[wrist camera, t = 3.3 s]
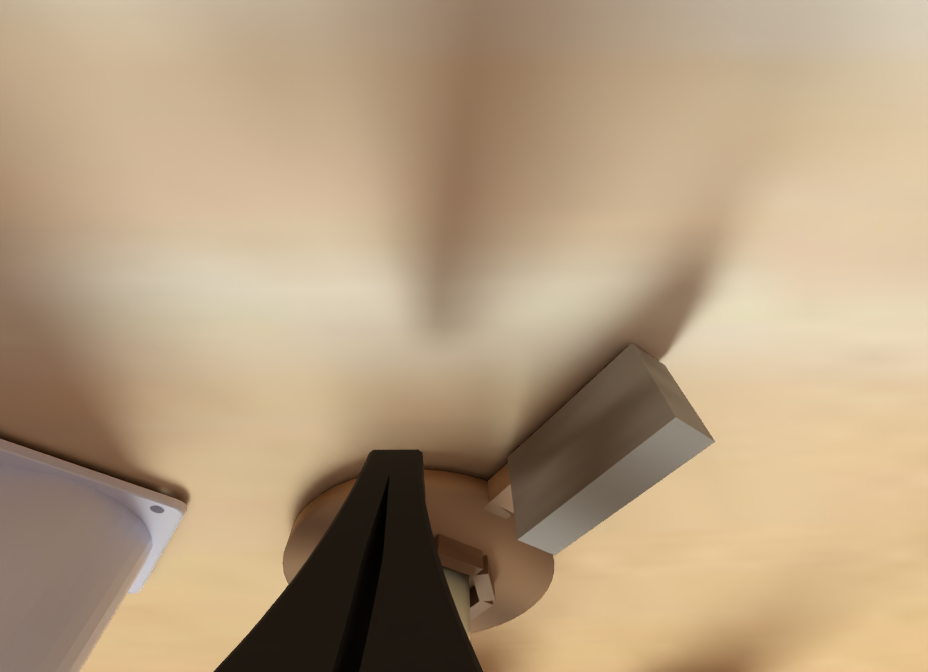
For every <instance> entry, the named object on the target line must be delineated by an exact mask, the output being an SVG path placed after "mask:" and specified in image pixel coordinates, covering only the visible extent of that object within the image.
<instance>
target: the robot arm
mask: <svg viewBox="0 0 928 672" xmlns="http://www.w3.org/2000/svg"><path fill="white" fill-rule="evenodd" d="M425 497H426V495H425V481H424V468H423V455H422V452H421V451H419V450H373V451H371V452H370V453H369V455H368V457H367V460H366V462H365V464H364V466H363V468H362V470H361V472H360V474H359V476H358V478H357V480H356V482H355V484H354V486H353V487H352V489H351V491H350V493H349V495H348V496H347V498H346V500H345V501H344V503H343V505H342V507H341V508H340V510H339V512H338V513H337V515H336V517H335V518H334V520H333V522H332V523H331V525H330V526H329V528H328V529H327V531H326V532H325V534H324V535H323V537H322V538H321V540H320V541H319V543H318V544H317V546H316V547H315V549H314V550H313V552H312V553H311V555H310V556H309V558H308V559H307V561H306V562H305V563H304V565H303V566H302V568H301V569H300V570H299V572H298V573H297V574H296V576H295V577H294V578H293V580H292V581H291V582H290V584H289V585H288V586H287V587H286V589H285V590H284V591H283V593H282V594H281V595H280V596H279V598H278V599H277V600H276V601H275V603H274V604H273V605H272V606H271V607H270V609H269V610H268V611H267V612H266V614H265V615H264V616H263V617H262V618H261V620H260V621H259V622H258V623H257V624H256V625H255V627H254V628H253V629H252V630H251V631H250V632H249V634H248V635H247V636H246V637H245V638H244V639H243V640H242V641H241V643H240V644H239V645H238V646H237V647H236V648H235V649H234V650H233V651H232V652H231V653H230V654H229V656H228V657H227V658H226V659H225V660H224V661H223V662H222V663H221V664H220V665H219V666H218V667H217V668H216V670H215V671H214V672H483V670H482V668H481V666H480V664H479V661H478V659H477V657H476V654H475V652H474V650H473V647H472V645H471V642H470V640H469V638H468V635H467V633H466V630H465V628H464V626H463V623H462V621H461V618H460V616H459V613H458V611H457V608H456V605H455V602H454V600H453V597H452V594H451V592H450V589H449V586H448V583H447V580H446V577H445V574H444V571H443V568H442V565H441V561H440V558H439V555H438V551H437V548H436V544H435V541H434V537H433V533H432V529H431V525H430V521H429V516H428V511H427V507H426V502H425ZM186 511H187V506H186V504H185V503H184V502H182V501H181V500H178V499H176V498H173V497H170V496H167V495H164V494H161V493H158V492H155V491H152V490H149V489H146V488H143V487H140V486H138V485H135V484H132V483H129V482H126V481H123V480H120V479H117V478H114V477H111V476H108V475H105V474H102V473H100V472H97V471H94V470H91V469H88V468H85V467H82V466H79V465H76V464H73V463H70V462H67V461H64V460H62V459H59V458H56V457H53V456H50V455H47V454H44V453H41V452H38V451H35V450H32V449H29V448H26V447H24V446H21V445H18V444H15V443H12V442H9V441H6V440H3V439H0V672H80V670H81V669H82V667H83V665H84V664H85V662H86V660H87V659H88V657H89V655H90V654H91V652H92V650H93V649H94V647H95V645H96V644H97V642H98V640H99V639H100V637H101V636H102V634H103V632H104V631H105V629H106V627H107V626H108V624H109V622H110V621H111V619H112V617H113V616H114V614H115V612H116V611H117V609H118V607H119V606H120V604H121V602H122V601H123V599H124V597H125V596H126V594H127V593H138V592H139V591H141V589H142V587H143V586H144V584H145V582H146V580H147V579H148V577H149V575H150V573H151V572H152V570H153V568H154V566H155V565H156V563H157V561H158V560H159V558H160V556H161V554H162V553H163V551H164V549H165V547H166V546H167V544H168V542H169V540H170V539H171V537H172V535H173V533H174V532H175V530H176V528H177V526H178V525H179V523H180V521H181V519H182V518H183V516H184V514H185V513H186Z"/></svg>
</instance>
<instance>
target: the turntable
mask: <svg viewBox="0 0 928 672" xmlns="http://www.w3.org/2000/svg"><path fill="white" fill-rule="evenodd" d="M714 442H715V441H714V439H713V438H712V436H711V435H710V433H709V431H708V430H707V428H706V427H705V425H704V424H703V422H702V421H701V419H700V418H699V416H698V415H697V413H696V412H695V410H694V409H693V407H692V406H691V404H690V403H689V401H688V400H687V398H686V397H685V395H684V394H683V392H682V391H681V389H680V388H679V386H678V385H677V383H676V382H675V380H674V378H673V377H672V375H671V374H670V372H669V371H668V369H667V368H666V366H665V365H663V364H662V363H660V362H659V361H658V360H656V359H655V358H653V357H652V356H650V355H649V354H647V353H646V352H644V351H643V350H641V349H640V348H638V347H637V346H635V345H634V344H632V343H631V344H630V345H629V346H628V347H627V348H626V349H625V350H624V351H623V352H621V353H620V354H619V355H618V356H617V357H616V358H615V359H614V360H613V361H612V362H611V363H610V364H608V365H607V366H606V367H605V368H604V369H603V370H602V371H601V372H600V373H599V374H598V375H596V376H595V377H594V378H593V379H592V380H591V381H590V382H589V383H588V384H587V385H586V386H585V387H583V388H582V389H581V390H580V391H579V392H578V393H577V394H576V395H575V396H574V397H573V398H572V399H570V400H569V401H568V402H567V403H566V404H565V405H564V406H563V407H562V408H561V409H560V410H558V411H557V412H556V413H555V414H554V415H553V416H552V417H551V418H550V419H549V420H548V421H547V422H545V423H544V424H543V425H542V426H541V427H540V428H539V429H538V430H537V431H536V432H535V433H534V434H532V435H531V436H530V437H529V438H528V439H527V440H526V441H525V442H524V443H523V444H522V445H520V446H519V447H518V448H517V449H516V450H515V451H514V452H513V453H512V454H511V455H510V456H509V457H507V461H508V463H507V464H506V465H505V466H504V467H503V468H502V469H500V470H499V471H498V472H497V473H496V474H495V475H494V476H493V477H492V478H491V479H490V480H488V481H485V480H483V479H479V478H475V477H472V476H468V475H464V474H459V473H453V472H448V471H437V470H424V481H425V495H426V497H425V502H426V507H427V511H428V516H429V521H430V525H431V529H432V533H433V537H434V541H435V544H436V548H437V551H438V555H439V558H440V561H441V565H442V566H444V567H447V568H450V569H453V570H455V571H458V572H461V573H464V574H466V575H469V585H470V624H471V633H475V632H479V631H482V630H486V629H489V628H492V627H495V626H498V625H501V624H503V623H505V622H507V621H509V620H512V619H514V618H515V617H517V616H519V615H521V614H522V613H524V612H525V611H527V610H528V609H529V608H531V607H532V606H533V605H534V604H535V603H536V602H538V601H539V600H540V599H541V598H542V596H543V595H544V594H545V592H546V591H547V589H548V587H549V585H550V583H551V581H552V578H553V574H554V559H553V555H556V554H557V553H559V552H560V551H562V550H563V549H564V548H566V547H567V546H569V545H570V544H571V543H573V542H574V541H576V540H577V539H579V538H580V537H581V536H583V535H584V534H586V533H587V532H588V531H590V530H591V529H593V528H594V527H595V526H597V525H598V524H600V523H601V522H603V521H604V520H605V519H607V518H608V517H610V516H611V515H612V514H614V513H615V512H617V511H618V510H619V509H621V508H622V507H624V506H625V505H627V504H628V503H629V502H631V501H632V500H634V499H635V498H636V497H638V496H639V495H641V494H642V493H643V492H645V491H646V490H648V489H649V488H651V487H652V486H653V485H655V484H656V483H658V482H659V481H660V480H662V479H663V478H665V477H666V476H667V475H669V474H670V473H672V472H673V471H675V470H676V469H677V468H679V467H680V466H682V465H683V464H684V463H686V462H687V461H689V460H690V459H692V458H693V457H694V456H696V455H697V454H699V453H700V452H701V451H703V450H704V449H706V448H707V447H708V446H710V445H711V444H713V443H714ZM356 480H357V478H355V479H352V480H349V481H347V482H344V483H342V484H339V485H337V486H334V487H333V488H331V489H329V490H327V491H325V492H324V493H322V494H320V495H319V496H318V497H316V498H315V499H314V500H312V501H311V502H310V503H309V504H308V505H307V506H306V507H305V508H304V509H303V510H302V511H301V513H300V514H299V516H298V517H297V519H296V520H295V523H294V525H293V528H292V531H291V533H290V536H289V539H288V542H287V545H286V548H285V551H284V556H283V569H284V574H285V577H286V579H287V582H288V584H290V582H291V581H292V580H293V578H294V577H295V576H296V574H297V573H298V572H299V570H300V569H301V568H302V566H303V565H304V563H305V562H306V561H307V559H308V558H309V556H310V555H311V553H312V552H313V550H314V549H315V547H316V546H317V544H318V543H319V541H320V540H321V538H322V537H323V535H324V534H325V532H326V531H327V529H328V528H329V526H330V525H331V523H332V522H333V520H334V518H335V517H336V515H337V513H338V512H339V510H340V508H341V507H342V505H343V503H344V501H345V500H346V498H347V496H348V495H349V493H350V491H351V489H352V487H353V486H354V484H355V482H356Z"/></svg>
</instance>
